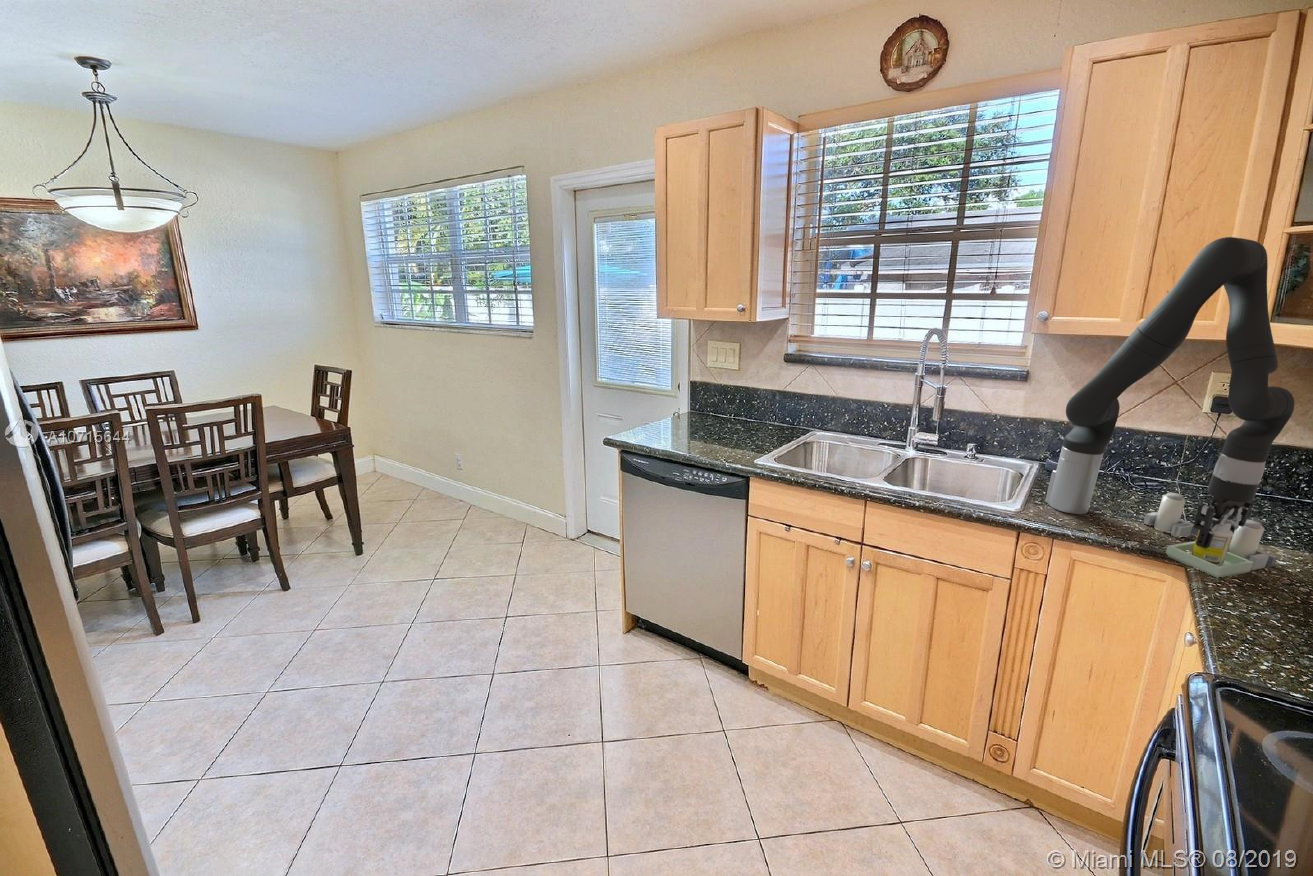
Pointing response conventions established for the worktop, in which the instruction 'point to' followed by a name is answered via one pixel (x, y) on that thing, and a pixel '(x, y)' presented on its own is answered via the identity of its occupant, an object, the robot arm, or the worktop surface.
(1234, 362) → the robot arm
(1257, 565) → the fuse holder
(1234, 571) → the tray
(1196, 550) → the supplement bottle
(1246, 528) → the fuse
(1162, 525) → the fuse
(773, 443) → the worktop surface
